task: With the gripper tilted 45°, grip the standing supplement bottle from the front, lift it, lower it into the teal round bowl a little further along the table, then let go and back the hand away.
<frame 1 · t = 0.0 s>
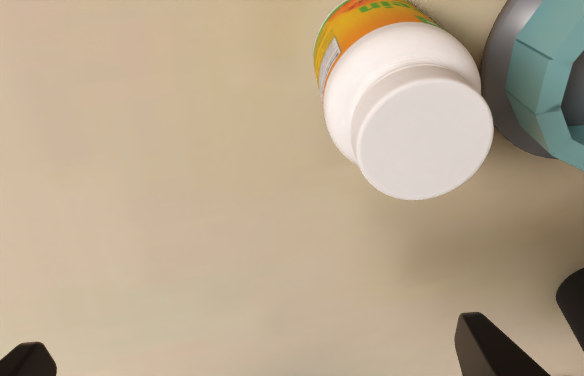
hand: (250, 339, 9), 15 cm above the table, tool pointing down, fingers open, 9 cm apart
supplement bottle: (368, 49, 21), on the table
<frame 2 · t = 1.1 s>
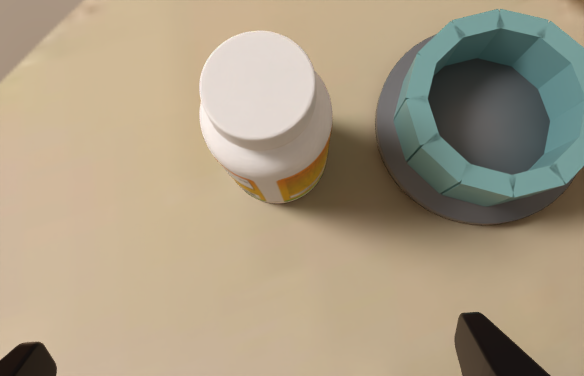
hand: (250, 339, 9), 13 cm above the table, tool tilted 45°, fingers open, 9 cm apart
supplement bottle: (278, 157, 24), on the table
teal round bowl: (475, 125, 24), on the table
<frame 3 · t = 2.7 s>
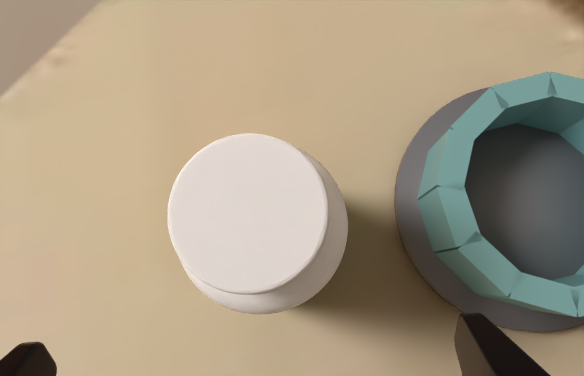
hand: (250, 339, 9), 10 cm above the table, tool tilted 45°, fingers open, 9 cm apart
supplement bottle: (278, 242, 20), on the table
teal round bowl: (515, 204, 20), on the table
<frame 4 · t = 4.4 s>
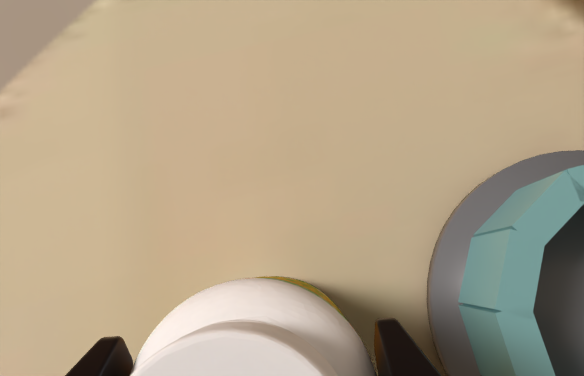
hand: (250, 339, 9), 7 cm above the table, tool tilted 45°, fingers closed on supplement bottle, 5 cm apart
supplement bottle: (278, 351, 16), on the table, touching gripper
teal round bowl: (582, 304, 15), on the table
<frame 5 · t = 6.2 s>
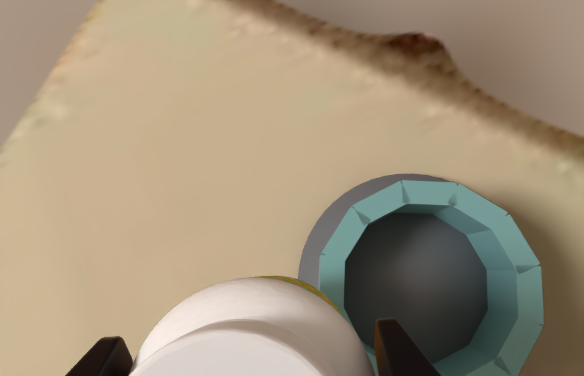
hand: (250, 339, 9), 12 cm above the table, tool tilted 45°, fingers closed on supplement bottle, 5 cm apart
supplement bottle: (277, 350, 16), point 6 cm above the table, touching gripper
teal round bowl: (408, 285, 21), on the table
when the fingers open (8 cm above the table, at t = 8.2 s): supplement bottle stays where it is, resting on teal round bowl.
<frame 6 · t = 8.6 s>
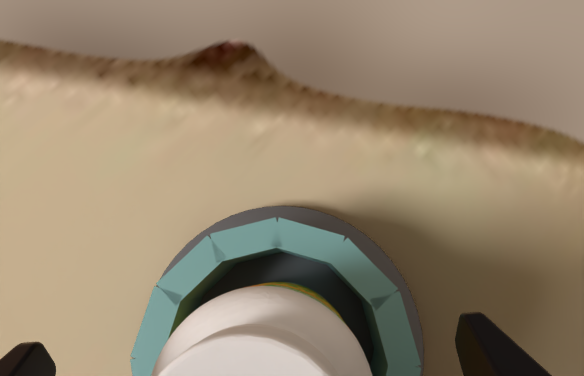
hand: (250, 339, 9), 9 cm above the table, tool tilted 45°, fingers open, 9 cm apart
supplement bottle: (281, 351, 17), point 1 cm above the table, touching teal round bowl
teal round bowl: (281, 343, 17), on the table
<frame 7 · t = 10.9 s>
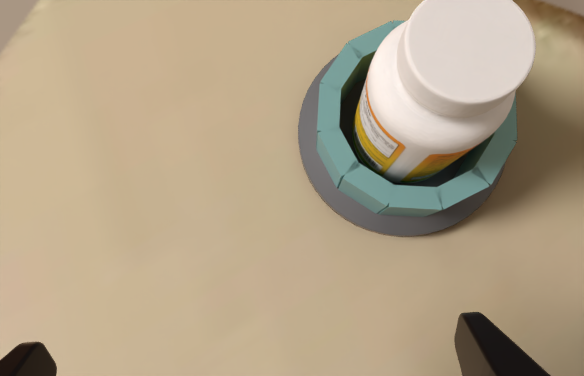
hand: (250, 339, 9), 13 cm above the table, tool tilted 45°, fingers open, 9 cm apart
supplement bottle: (400, 136, 23), point 1 cm above the table, touching teal round bowl
teal round bowl: (399, 135, 23), on the table
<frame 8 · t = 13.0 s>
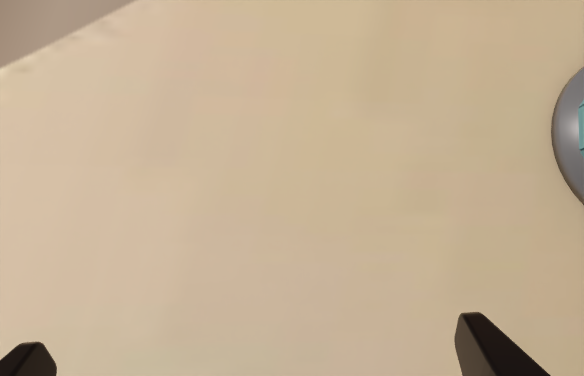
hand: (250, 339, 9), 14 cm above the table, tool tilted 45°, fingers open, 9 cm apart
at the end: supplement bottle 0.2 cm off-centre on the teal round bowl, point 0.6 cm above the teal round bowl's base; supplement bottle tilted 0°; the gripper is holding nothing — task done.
